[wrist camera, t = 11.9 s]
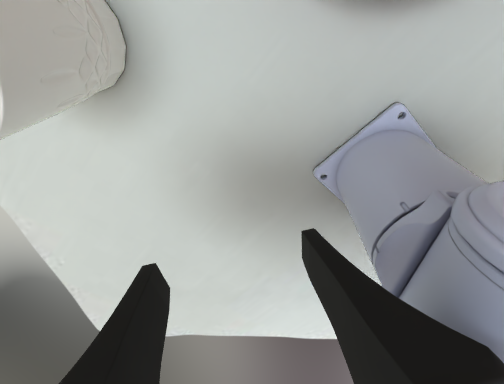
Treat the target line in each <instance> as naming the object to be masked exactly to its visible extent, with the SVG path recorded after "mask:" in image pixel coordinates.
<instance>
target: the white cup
mask: <svg viewBox="0 0 504 384" xmlns="http://www.w3.org/2000/svg"><path fill="white" fill-rule="evenodd" d="M125 54H126V45H125V41H124V38H123V35H122V32H121V29H120V25H119V22H118V19H117V18H116V16H115V15H114V13H113V12H112V10H111V9H110V8H109V6H108V5H107V3H106V2H105V0H0V140H1V139H4V138H6V137H8V136H10V135H12V134H15V133H17V132H19V131H21V130H23V129H26V128H28V127H30V126H32V125H35V124H37V123H39V122H41V121H44V120H46V119H48V118H50V117H53V116H55V115H57V114H59V113H61V112H63V111H65V110H66V109H68V108H71V107H73V106H75V105H77V104H79V103H81V102H83V101H85V100H87V99H88V98H89V97H90V96H92V95H93V94H95V93H97V92H100V91H102V90H104V89H107V88H109V87H112V86H113V85H114V84H115V83H116V81H117V80H118V78H119V77H120V75H121V74H122V72H123V71H124V67H125Z"/></svg>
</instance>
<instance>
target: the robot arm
mask: <svg viewBox="0 0 504 384" xmlns="http://www.w3.org/2000/svg"><path fill="white" fill-rule="evenodd" d="M401 112H403V115H402V117H400V118H398V115H399V114H400V113H401ZM313 173H314V176H315V177H316V178H317V179H318V180H319V181H320V182H321V183H322V184H323V185H324V186H326V187H327V188H328V189H329V190H330V191H331V192H332V193H333V194H334V195H335V196H337V197H338V198H339V199H340V200H341V201H342V202H343V203H344V204H345V205H346V207H347V209H348V211H349V213H350V216H351V218H352V220H353V222H354V224H355V227H356V229H357V231H358V233H359V235H360V237H361V240H362V242H363V244H364V246H365V248H366V251H367V253H368V255H369V257H370V259H371V262H372V264H373V266H374V268H375V271H376V273H377V275H378V277H379V279H380V281H381V283H382V286H380V285H379V284H377V283H376V282H375V281H373V280H372V279H371V278H369V277H368V276H367V275H365V274H364V273H363V272H362V271H360V270H359V269H358V268H357V267H355V266H354V265H353V264H352V263H351V262H349V261H348V260H347V259H346V258H345V257H344V256H343V255H341V254H340V253H339V252H338V251H337V250H336V249H335V248H334V247H333V246H332V245H330V244H329V243H328V242H327V241H326V240H325V239H324V238H323V237H322V236H321V235H320V234H319V233H318V232H317V231H316V230H315V229H314V228H313V229H308V230H304V231H302V259H303V262H304V265H305V268H306V271H307V273H308V276H309V278H310V281H311V283H312V285H313V287H314V289H315V291H316V293H317V295H318V297H319V299H320V301H321V303H322V305H323V307H324V309H325V311H326V313H327V316H328V318H329V320H330V322H331V324H332V326H333V329H334V331H335V334H336V336H337V339H338V341H339V344H340V346H341V349H342V352H343V355H344V357H345V360H346V363H347V365H348V368H349V371H350V374H351V376H352V379H353V382H354V384H504V181H499V182H494V183H487V182H485V181H484V180H482V179H481V178H479V177H478V176H476V175H475V174H473V173H472V172H470V171H469V170H467V169H466V168H465V167H463V166H462V165H460V164H459V163H457V162H456V161H454V160H453V159H451V158H450V157H448V156H447V155H445V154H444V153H442V152H441V151H439V150H438V149H437V148H436V146H435V145H434V144H433V142H432V141H431V140H430V138H429V137H428V136H427V134H426V133H425V132H424V131H423V129H422V128H421V127H420V125H419V124H418V123H417V121H416V120H415V119H414V117H413V116H412V115H411V113H410V112H409V111H408V109H407V108H406V107H405V105H403V104H402V103H394V104H393V105H391V106H390V107H389V108H388V109H387V110H385V111H384V112H383V113H382V114H381V115H379V116H378V117H377V118H376V119H374V120H373V121H372V122H371V123H370V124H368V125H367V126H366V127H365V128H364V129H362V130H361V131H360V132H359V133H357V134H356V135H355V136H354V137H353V138H351V139H350V140H349V141H348V142H346V143H345V144H344V145H343V146H342V147H340V148H339V149H338V150H337V151H336V152H334V153H333V154H332V155H331V156H329V157H328V158H327V159H326V160H325V161H323V162H322V163H321V164H320V165H319V166H317V167H316V168H315V169H314V171H313ZM322 175H326V176H325V177H321V176H322ZM169 304H170V287H169V285H168V284H167V282H166V280H165V279H164V277H163V275H162V273H161V272H160V270H159V268H158V266H157V265H156V263H154V264H149V265H144V266H142V268H141V269H140V271H139V272H138V274H137V276H136V277H135V279H134V280H133V282H132V284H131V285H130V287H129V289H128V290H127V292H126V293H125V295H124V297H123V298H122V300H121V301H120V303H119V304H118V306H117V307H116V309H115V311H114V312H113V314H112V315H111V317H110V318H109V320H108V321H107V322H106V324H105V325H104V327H103V328H102V330H101V331H100V332H99V334H98V335H97V337H96V338H95V339H94V341H93V342H92V343H91V345H90V346H89V347H88V349H87V350H86V351H85V353H84V354H83V355H82V356H81V358H80V359H79V360H78V362H77V363H76V364H75V365H74V367H73V368H72V369H71V370H70V371H69V372H68V374H67V375H66V376H65V377H64V378H63V379H62V381H61V382H60V383H59V384H159V381H160V380H159V379H160V369H161V360H162V354H163V348H164V341H165V335H166V328H167V322H168V315H169Z"/></svg>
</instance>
